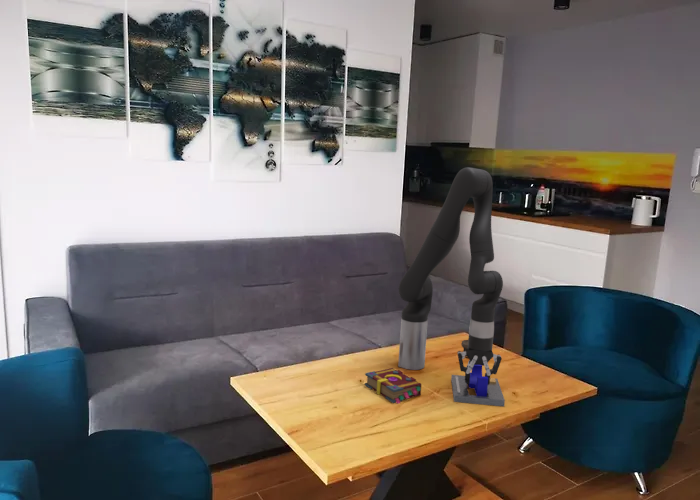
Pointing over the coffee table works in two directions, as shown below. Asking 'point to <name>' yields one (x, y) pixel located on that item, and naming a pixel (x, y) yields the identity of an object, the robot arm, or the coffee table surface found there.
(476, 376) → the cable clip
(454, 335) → the coffee table surface
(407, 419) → the coffee table surface
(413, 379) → the decorative book
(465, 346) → the industrial component
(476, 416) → the coffee table surface
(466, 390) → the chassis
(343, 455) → the coffee table surface
